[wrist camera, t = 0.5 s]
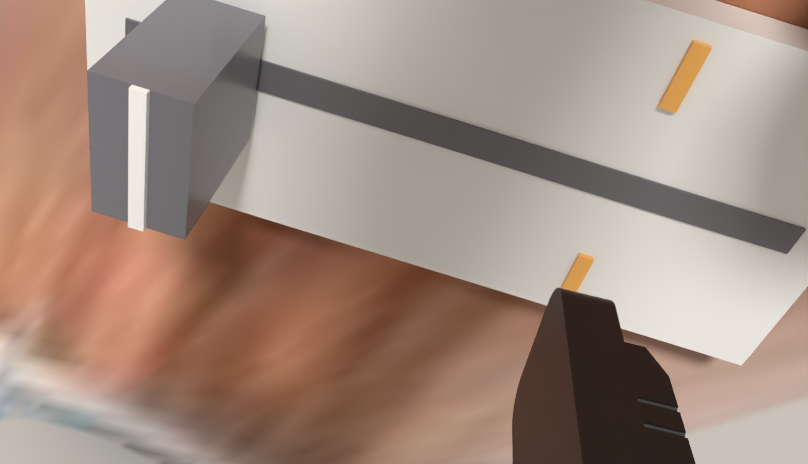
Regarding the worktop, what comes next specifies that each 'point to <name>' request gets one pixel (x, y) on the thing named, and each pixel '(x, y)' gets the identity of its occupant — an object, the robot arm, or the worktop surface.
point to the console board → (539, 148)
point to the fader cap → (172, 112)
